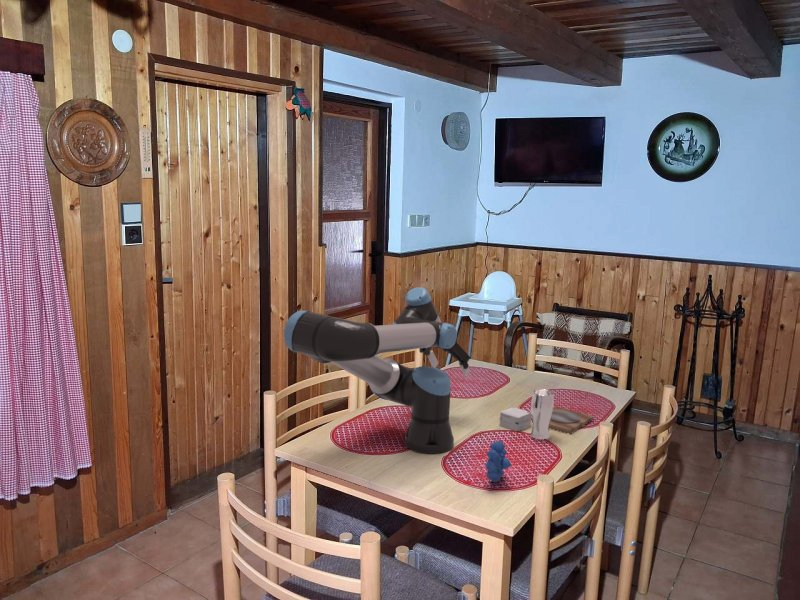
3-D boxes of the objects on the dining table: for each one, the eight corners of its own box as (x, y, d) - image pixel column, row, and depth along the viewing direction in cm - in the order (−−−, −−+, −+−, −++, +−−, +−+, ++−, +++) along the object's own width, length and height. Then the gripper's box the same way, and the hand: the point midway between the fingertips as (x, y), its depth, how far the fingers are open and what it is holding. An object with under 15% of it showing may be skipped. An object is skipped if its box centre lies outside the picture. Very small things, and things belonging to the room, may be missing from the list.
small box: (498, 425, 222) (499, 411, 221) (512, 420, 228) (513, 406, 227) (518, 432, 217) (518, 417, 216) (531, 426, 222) (532, 412, 222)
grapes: (503, 494, 173) (505, 451, 171) (478, 488, 176) (481, 445, 174) (516, 477, 183) (519, 436, 181) (493, 472, 186) (495, 431, 184)
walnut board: (569, 434, 216) (570, 428, 216) (532, 423, 225) (532, 417, 225) (593, 420, 230) (593, 414, 229) (556, 410, 238) (557, 405, 238)
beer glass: (549, 433, 216) (553, 389, 214) (552, 441, 209) (555, 396, 207) (528, 432, 217) (531, 388, 214) (530, 440, 210) (533, 395, 207)
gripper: (467, 325, 213) (486, 369, 226) (408, 313, 229) (428, 355, 242) (456, 341, 210) (475, 385, 222) (396, 328, 226) (418, 370, 238)
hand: (451, 369), depth 232 cm, fingers open, 13 cm apart
